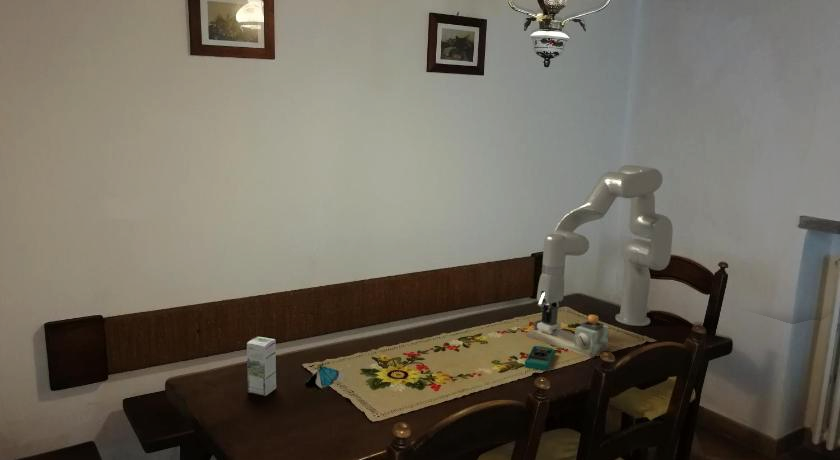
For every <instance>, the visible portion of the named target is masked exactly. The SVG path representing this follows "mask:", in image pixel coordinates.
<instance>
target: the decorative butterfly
mask: <svg viewBox="0 0 840 460" xmlns="http://www.w3.org/2000/svg"><path fill="white" fill-rule="evenodd" d="M323 361H324V360H323V359H322V362H321V364H320V365H319V366H318V367H317V368H316V370H314V372H313V374H312V376H314V375H315V374H316V379H315V384H316V385H317V386H318V387H319V388H320V389H324V388H326V387H328V386H330V385H332V384H334V383H336V382H339V381H342V380H343V379H346V378H347V377H346V375H345V374H344V373H343V372H341V371H339V370H338V369H334V368H331V367H327V366H324V362H323ZM328 362H330V360H329V361H327V363H328ZM309 380H310V379H309ZM309 380H307V381H306V383H307V382H309Z"/></svg>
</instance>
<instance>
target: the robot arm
mask: <svg viewBox="0 0 840 460" xmlns="http://www.w3.org/2000/svg"><path fill="white" fill-rule="evenodd" d="M662 183H663V174H662V173H661V171H660V170H658V169H656V167H655V168H653V167H649V166H648V167H647V166H640V165H634V164H626V165H622V166H621V167H619V169H618V170H617V171H606V172H604V173H603V174H601V176H600V177H599V179H598V180H597V182H596V183H595V185H594V186H593V188H592V190H591V191H590V193H589V194H588V196H586V199H585V200H584V202H583V203H582V204H581V205H579V206H578V207H575V208H574V209H573V210H571V211H570V212H568V213H567V214H565V215H564V217H562V218H561V219H560V221H559V222H558V224H557V226H556V227H555V228H554V230H553V232H552V233H549V234H546V235H545V236H544V241H543V253H542V264H541V265H542V267H541V274H540V276H539V281H538V286H537V294H536V301H537V302H538V304H537V306H538V307H540V309H541V312H542V314H541V319H542V321H543V322H546V323H550V319H551V312H550V307H551V306H554V307H558V310H559V308H560V305H561V303H562V301H563V300H564V296H565V295H564V294H565V269H566V268H565V266H566V257H567V256H575V257H579V256H583V255H585V254H586V253H587V252H588V251H589V249H590V241H589V240H588V238H587V237H586V236H585V235H582V234H580V233H576V232H575V230H576V229H577V228H578V227H581V226H582V225H584V224H587V223H589V222H590V223H591V222H594V221H598V220H600V219H603V218H604V217H605V216H606V215H607V213H608V212H609V210H610V208H611V206H612V205H614V202H615V201H616V199H617V198H622V199H630V209H629V210H630V211H629V230H630V231H629V232H630V233H631V234H632V235H634V236H636V237H641V238H645V239H649V240H650V241H649V240H645V239H640V238H633V239H630V240H628V241H627V242H626V243H625V244H624V247H623V253H622V255H623V264H624V265H623V266H624V267H623V268H624V270H623V271H624V272H623V280H622V281H623V282H622V291H621V301H620V309H619V310H620V311H619V313H617V314H615V320H616V321H617V322H618V323H620V324H623V325H624V324H625V325H627V326H635V327H645V326H648V325H650V324H651V319H650V318H649V317H648V316H647V315H648V313H650V312H651V308H650V307H648V304H649V295H650V294H649V293H650V285H651V273H650V270H654V271H662V270H665V269H667V267H668V266H669V264H670V261H671V255H672V248H673V247H672V243H673V232H674V229H673V223H672V221H671V219H670V218H669V217H668V216H666V215H664V214H659V213H656V197H655V196H656V195H655V193H654V192H656V191H658V190H659V188H660V187H662ZM546 305H548V306H546ZM558 313H559V311H558V312H557V314H558Z"/></svg>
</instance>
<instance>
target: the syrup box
mask: <svg viewBox="0 0 840 460" xmlns="http://www.w3.org/2000/svg"><path fill="white" fill-rule="evenodd" d="M276 343H277V342H276V339H275V338H268V337H262V336H256V337H253V338H252V339H251V340H249V341H247V342H246V356H247V358H246V363H247V364H246V366H247V368H246V369H247V393H249V394H255V395H259V396H263V397H266V396H268V395H269V394H270V393H272V392H274V390H276V389H277V368H276V367H277V364H276V363H277V360H276V357H277V356H276V353H277V351H276V349H277V347H276V345H277V344H276Z"/></svg>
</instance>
